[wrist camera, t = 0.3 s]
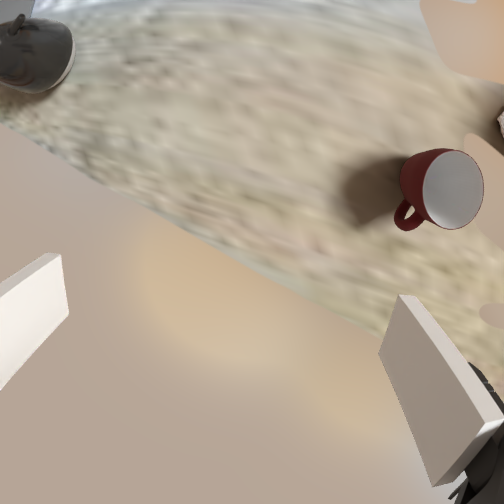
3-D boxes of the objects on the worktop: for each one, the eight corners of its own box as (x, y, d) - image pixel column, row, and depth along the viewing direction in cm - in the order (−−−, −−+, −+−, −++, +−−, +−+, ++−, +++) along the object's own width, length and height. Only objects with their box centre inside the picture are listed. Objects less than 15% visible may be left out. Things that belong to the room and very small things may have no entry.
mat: (-1, 2, 27) (-3, 1, 26) (39, -15, 27) (37, -16, 26) (-16, 63, 31) (-18, 63, 30) (22, 51, 31) (20, 50, 30)
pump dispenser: (95, 71, 33) (21, 50, 19) (38, 108, 34) (-39, 108, 20) (80, 14, 30) (14, -19, 15) (27, 53, 31) (-45, 39, 17)
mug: (411, 235, 38) (447, 263, 29) (364, 204, 37) (393, 225, 28) (449, 168, 35) (494, 180, 26) (404, 132, 34) (445, 132, 25)
